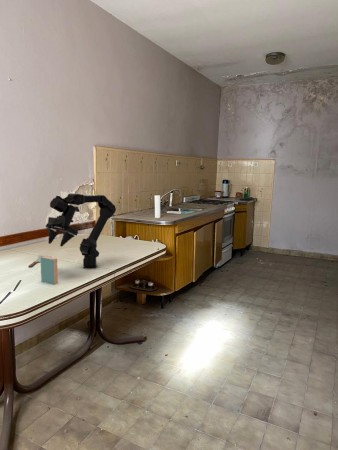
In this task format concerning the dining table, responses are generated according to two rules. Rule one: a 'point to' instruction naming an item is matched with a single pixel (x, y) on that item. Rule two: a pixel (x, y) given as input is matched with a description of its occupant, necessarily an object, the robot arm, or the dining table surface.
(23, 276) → the dining table surface
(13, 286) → the dining table surface
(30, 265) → the kitchen cleaver
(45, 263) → the glazed tile
